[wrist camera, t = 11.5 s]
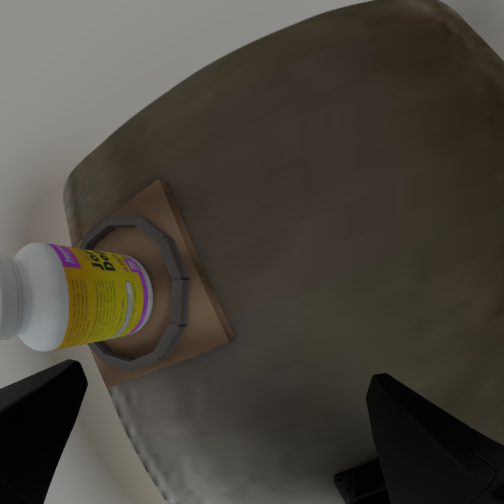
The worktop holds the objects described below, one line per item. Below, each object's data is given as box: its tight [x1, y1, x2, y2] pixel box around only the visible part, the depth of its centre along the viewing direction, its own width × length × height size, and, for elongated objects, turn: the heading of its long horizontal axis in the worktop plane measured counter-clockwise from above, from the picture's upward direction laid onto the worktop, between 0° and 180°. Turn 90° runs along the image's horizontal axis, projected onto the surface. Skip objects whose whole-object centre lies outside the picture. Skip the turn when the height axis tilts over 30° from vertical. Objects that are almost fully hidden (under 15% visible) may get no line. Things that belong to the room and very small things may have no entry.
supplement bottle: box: [0, 243, 153, 351], centre depth 16 cm, size 7×7×13 cm
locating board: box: [73, 179, 236, 388], centre depth 22 cm, size 14×14×3 cm
